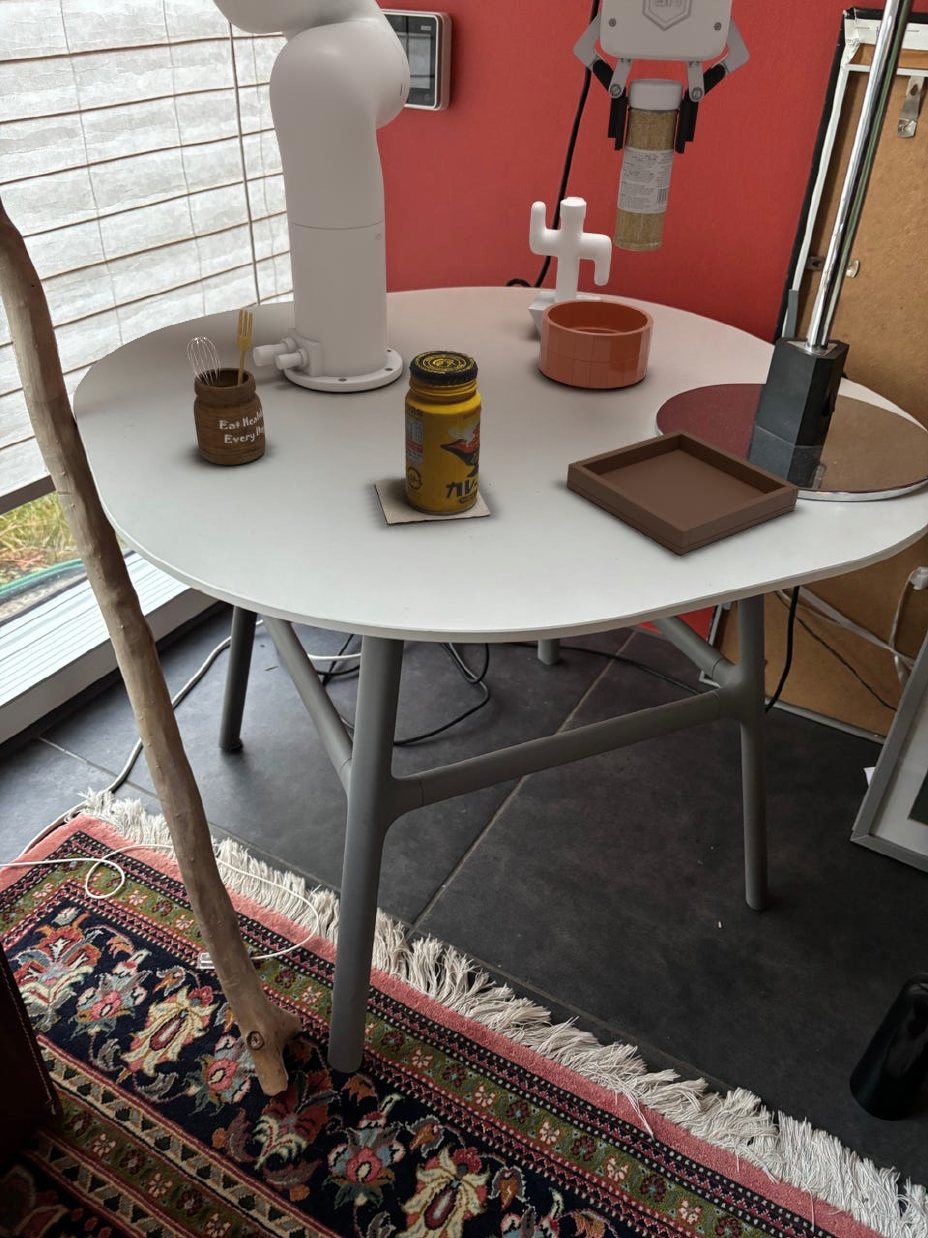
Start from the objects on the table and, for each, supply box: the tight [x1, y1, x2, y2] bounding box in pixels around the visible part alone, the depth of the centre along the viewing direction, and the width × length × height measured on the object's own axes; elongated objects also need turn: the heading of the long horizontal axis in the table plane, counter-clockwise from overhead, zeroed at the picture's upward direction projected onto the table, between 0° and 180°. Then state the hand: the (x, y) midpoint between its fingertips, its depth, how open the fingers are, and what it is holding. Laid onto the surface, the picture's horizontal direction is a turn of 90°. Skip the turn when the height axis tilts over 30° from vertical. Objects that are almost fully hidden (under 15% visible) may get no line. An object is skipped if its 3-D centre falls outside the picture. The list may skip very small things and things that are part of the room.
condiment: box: [373, 350, 492, 524], centre depth 78 cm, size 7×8×12 cm
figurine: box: [528, 196, 613, 337], centre depth 112 cm, size 7×9×15 cm
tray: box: [566, 428, 801, 556], centre depth 82 cm, size 14×14×2 cm
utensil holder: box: [186, 308, 266, 466], centre depth 85 cm, size 6×6×12 cm
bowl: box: [538, 299, 655, 390], centre depth 105 cm, size 12×12×6 cm
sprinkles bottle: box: [612, 78, 684, 252], centre depth 86 cm, size 5×5×13 cm
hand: (649, 146), depth 85 cm, fingers closed on sprinkles bottle, 4 cm apart
